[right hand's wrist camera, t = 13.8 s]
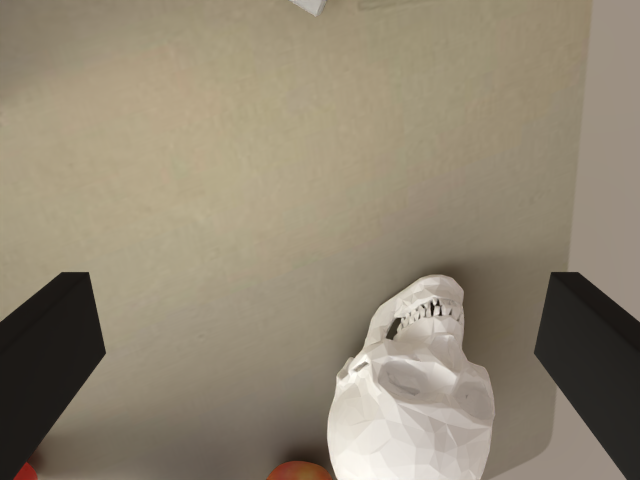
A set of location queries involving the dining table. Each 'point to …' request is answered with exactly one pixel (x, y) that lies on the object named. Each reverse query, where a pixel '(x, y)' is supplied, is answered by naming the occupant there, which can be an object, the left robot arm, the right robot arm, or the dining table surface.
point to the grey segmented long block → (311, 5)
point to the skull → (413, 395)
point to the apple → (299, 471)
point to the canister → (26, 473)
